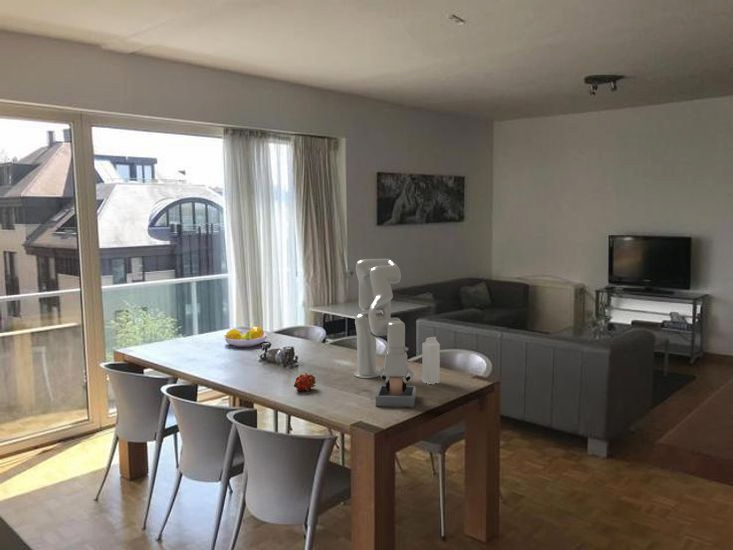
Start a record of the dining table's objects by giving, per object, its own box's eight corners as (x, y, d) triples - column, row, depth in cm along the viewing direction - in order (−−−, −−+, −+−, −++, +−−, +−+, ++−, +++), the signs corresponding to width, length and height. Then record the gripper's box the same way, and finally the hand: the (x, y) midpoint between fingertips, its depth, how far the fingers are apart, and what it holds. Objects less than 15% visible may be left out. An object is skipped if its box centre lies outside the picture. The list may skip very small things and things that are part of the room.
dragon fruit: (317, 391, 276) (296, 400, 269) (308, 378, 280) (286, 386, 273) (322, 379, 271) (300, 388, 264) (312, 366, 275) (290, 375, 268)
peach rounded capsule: (389, 390, 259) (389, 375, 259) (403, 391, 258) (403, 375, 258) (388, 395, 253) (388, 379, 253) (402, 395, 253) (402, 379, 252)
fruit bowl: (228, 340, 378) (228, 322, 376) (271, 339, 378) (271, 322, 376) (217, 350, 350) (217, 331, 349) (263, 350, 350) (263, 331, 348)
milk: (439, 383, 282) (440, 337, 279) (429, 385, 279) (430, 339, 276) (431, 380, 287) (432, 335, 285) (421, 381, 284) (422, 336, 281)
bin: (380, 394, 265) (379, 385, 265) (415, 395, 263) (415, 386, 263) (375, 406, 250) (375, 396, 249) (413, 408, 247) (413, 397, 247)
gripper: (416, 348, 256) (416, 388, 258) (377, 347, 259) (377, 387, 261) (415, 352, 249) (415, 394, 251) (375, 351, 251) (375, 392, 253)
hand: (396, 390), depth 256 cm, fingers closed on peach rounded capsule, 6 cm apart
